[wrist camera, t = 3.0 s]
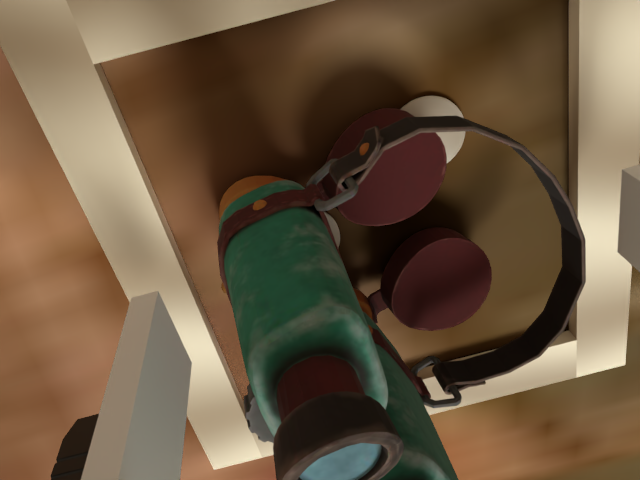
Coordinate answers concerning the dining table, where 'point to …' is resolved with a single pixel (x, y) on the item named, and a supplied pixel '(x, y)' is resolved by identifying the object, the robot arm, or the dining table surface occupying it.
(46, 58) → the frame
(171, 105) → the dining table surface
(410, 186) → the binoculars
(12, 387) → the dining table surface
